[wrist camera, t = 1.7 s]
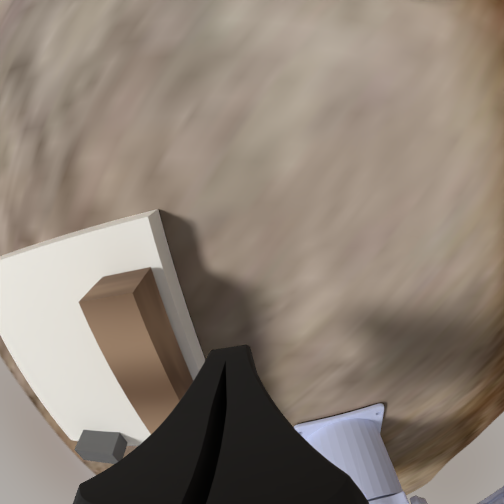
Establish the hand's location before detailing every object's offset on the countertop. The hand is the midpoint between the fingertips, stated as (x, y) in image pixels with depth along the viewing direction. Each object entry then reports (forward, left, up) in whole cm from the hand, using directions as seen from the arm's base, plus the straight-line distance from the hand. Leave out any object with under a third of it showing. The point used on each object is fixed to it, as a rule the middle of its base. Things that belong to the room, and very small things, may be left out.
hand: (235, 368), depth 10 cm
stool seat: (-4, +11, -8) cm, 15 cm away
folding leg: (-4, +5, -6) cm, 9 cm away
